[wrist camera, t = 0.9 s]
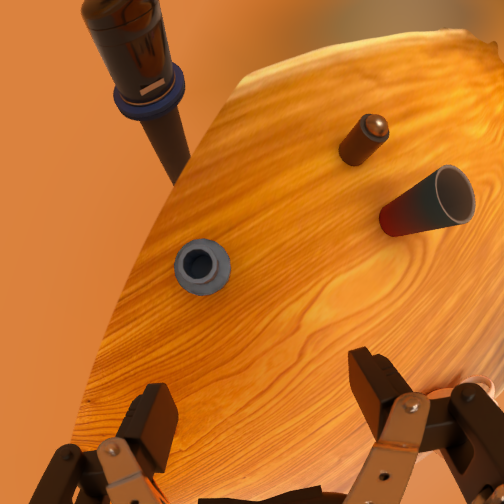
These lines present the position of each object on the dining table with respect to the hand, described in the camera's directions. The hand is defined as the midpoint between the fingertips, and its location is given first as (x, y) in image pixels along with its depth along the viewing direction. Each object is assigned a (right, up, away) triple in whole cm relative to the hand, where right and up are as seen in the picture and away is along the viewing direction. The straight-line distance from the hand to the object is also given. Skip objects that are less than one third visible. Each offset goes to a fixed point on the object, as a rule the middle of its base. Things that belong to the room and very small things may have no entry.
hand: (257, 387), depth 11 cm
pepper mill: (+15, +21, +30) cm, 39 cm away
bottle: (-6, +3, +26) cm, 27 cm away
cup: (+21, +10, +29) cm, 37 cm away
